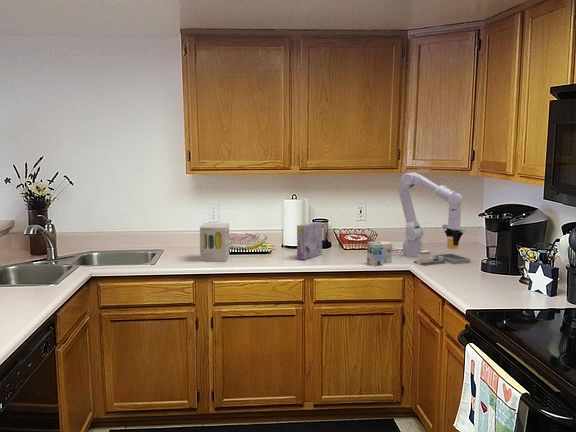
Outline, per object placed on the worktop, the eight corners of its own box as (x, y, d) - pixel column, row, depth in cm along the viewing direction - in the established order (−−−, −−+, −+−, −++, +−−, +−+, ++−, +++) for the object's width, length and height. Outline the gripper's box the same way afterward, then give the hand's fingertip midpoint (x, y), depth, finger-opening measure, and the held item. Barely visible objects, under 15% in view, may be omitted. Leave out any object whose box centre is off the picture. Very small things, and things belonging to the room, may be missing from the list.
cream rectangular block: (417, 263, 272) (418, 251, 271) (425, 262, 274) (426, 250, 273) (421, 264, 269) (422, 252, 268) (429, 263, 271) (430, 251, 270)
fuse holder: (412, 264, 274) (412, 257, 274) (435, 261, 280) (435, 254, 279) (423, 268, 266) (424, 260, 266) (447, 265, 272) (447, 258, 271)
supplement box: (199, 261, 277) (199, 226, 275) (204, 256, 290) (203, 222, 288) (226, 262, 277) (225, 227, 274) (229, 256, 290) (229, 223, 287)
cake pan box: (315, 253, 299) (316, 220, 296) (323, 254, 296) (324, 221, 294) (295, 259, 283) (296, 225, 281) (304, 260, 280) (304, 226, 278)
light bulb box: (371, 266, 269) (372, 244, 268) (366, 263, 276) (366, 241, 274) (392, 265, 272) (392, 243, 271) (386, 262, 279) (386, 240, 277)
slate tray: (435, 260, 283) (435, 254, 283) (450, 258, 287) (451, 253, 287) (453, 266, 270) (454, 260, 270) (470, 264, 274) (470, 258, 274)
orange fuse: (447, 248, 278) (447, 236, 277) (454, 247, 280) (454, 235, 279) (451, 249, 275) (451, 237, 274) (458, 248, 277) (459, 236, 276)
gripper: (438, 216, 280) (437, 243, 282) (459, 220, 267) (457, 248, 269) (448, 215, 283) (447, 241, 285) (469, 219, 270) (468, 246, 272)
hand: (453, 244), depth 277 cm, fingers closed on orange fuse, 3 cm apart
